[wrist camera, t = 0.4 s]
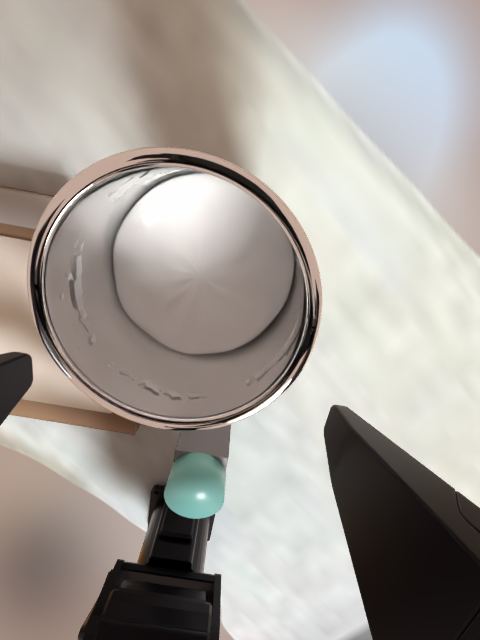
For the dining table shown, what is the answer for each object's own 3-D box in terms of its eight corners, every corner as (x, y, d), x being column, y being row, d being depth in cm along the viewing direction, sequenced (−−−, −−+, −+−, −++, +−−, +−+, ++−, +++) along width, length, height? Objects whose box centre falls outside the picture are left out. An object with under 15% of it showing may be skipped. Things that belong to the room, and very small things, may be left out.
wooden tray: (139, 425, 26) (130, 443, 24) (-43, 395, 26) (-68, 411, 24) (154, 215, 20) (144, 216, 18) (-87, 169, 19) (-127, 164, 17)
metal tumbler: (153, 234, 20) (-51, 289, 6) (230, 163, 19) (182, 30, 5) (218, 309, 22) (169, 478, 8) (294, 250, 21) (393, 338, 7)
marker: (228, 418, 26) (219, 522, 17) (190, 411, 26) (161, 513, 17) (235, 385, 25) (228, 480, 16) (195, 378, 25) (166, 470, 16)
